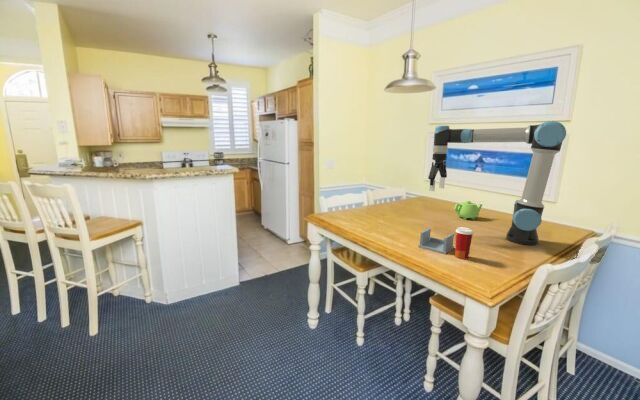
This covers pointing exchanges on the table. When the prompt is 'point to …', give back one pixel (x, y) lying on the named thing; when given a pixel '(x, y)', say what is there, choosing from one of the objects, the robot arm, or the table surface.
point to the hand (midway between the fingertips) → (436, 189)
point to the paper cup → (463, 242)
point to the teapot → (467, 210)
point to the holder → (436, 242)
